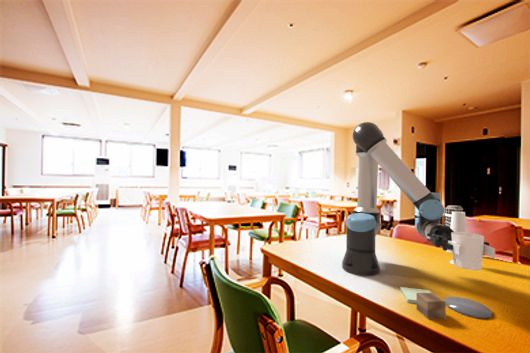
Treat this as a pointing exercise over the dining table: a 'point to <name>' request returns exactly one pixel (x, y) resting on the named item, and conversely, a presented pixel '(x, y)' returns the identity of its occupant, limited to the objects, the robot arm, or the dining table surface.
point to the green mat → (412, 293)
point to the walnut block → (431, 306)
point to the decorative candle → (448, 215)
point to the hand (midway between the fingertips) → (476, 251)
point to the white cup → (468, 250)
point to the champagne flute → (458, 223)
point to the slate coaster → (468, 307)
